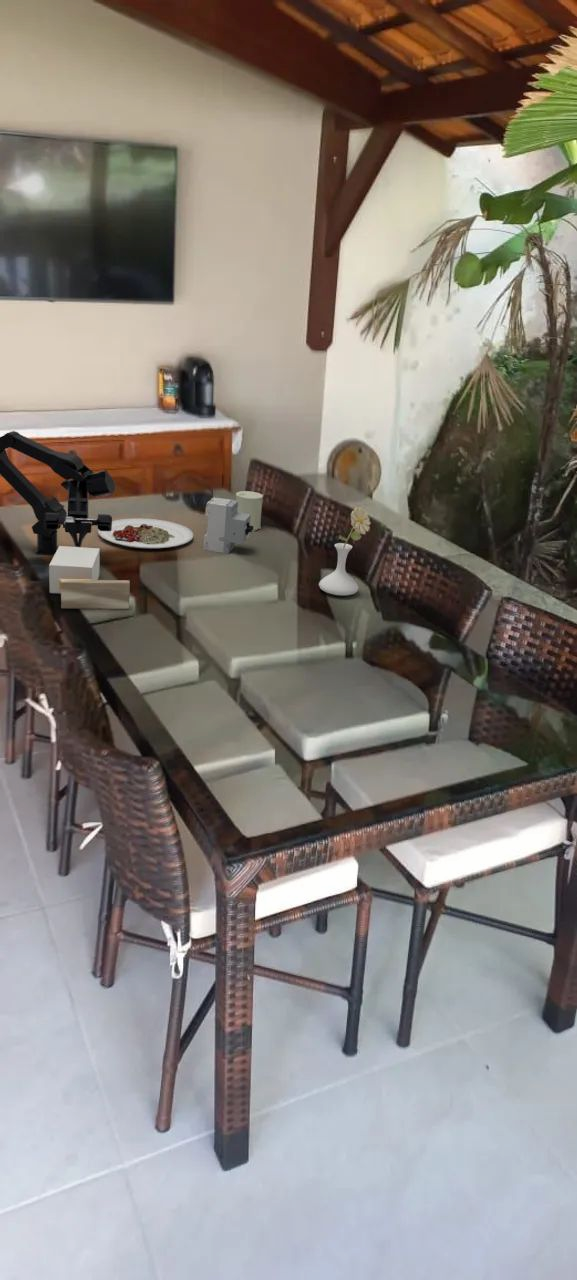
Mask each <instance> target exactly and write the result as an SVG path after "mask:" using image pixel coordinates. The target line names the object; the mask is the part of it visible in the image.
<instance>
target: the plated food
mask: <svg viewBox="0 0 577 1280" xmlns="http://www.w3.org/2000/svg"><path fill="white" fill-rule="evenodd" d="M97 532H98V535H99V536H100V537H101V538H102V539H104V540H106V541H108V542H110V543H113V544H116V545H121V546H123V547H129V548H134V549H150V550H151V549H152V550H153V549H165V548H172V547H173V548H174V547H178V546H182V545H184V544H187V543H189V542H191V541H192V540H193V538H194V533H193V531H192V530H191V529H190V528H188V527H187V526H185V525H183V524H179V523H176V522H172V521H168V520H164V519H154V518H142V517H139V518H135V517H134V518H133V517H131V518H123V519H122V518H121V519H116V520H112V529H111V531H100V530H99V529H98V528H97Z"/></svg>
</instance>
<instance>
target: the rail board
mask: <svg viewBox="0 0 577 1280" xmlns="http://www.w3.org/2000/svg"><path fill="white" fill-rule="evenodd" d="M130 585H131V584H130V580H129V579H128V580H127V579H126V580H123V579H122V580H119V579H117V580H116V579H115V580H113V579H108V580H107V579H98V580H61V594H60V596H61V597H60V598H61V599H60V604H61V605H60V608H61V609H99V608H100V609H102V610H103V609H111V610H113V609H114V610H115V609H116V610H120V609H123V610H124V609H125V610H126V609H130V592H131V591H130V590H131V589H130V588H131V587H130ZM100 609H99V610H100Z"/></svg>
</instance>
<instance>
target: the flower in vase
mask: <svg viewBox="0 0 577 1280" xmlns="http://www.w3.org/2000/svg"><path fill="white" fill-rule="evenodd" d="M368 513H369V512H368ZM368 513H367V512H366V510H365V509H364V508H363V507H362V506H360V507H359V506H356V507H354V508H353V510H352V511H351V513H350V521H351V523H350V524H351V526H352V528H351V529H350V530H351V531H350V532H349V534H348V536H347V538H346V537H343V535H341V534H339V536H338V539H339V540H341V541H345V542H343V543H342V542H338V543H335V544H334V548H335V549H336V552H337V562H336V563H337V565H336V568H335V570H334V571H333V572H331V573H330V574H328V575H325V576H324V577H323V578H322V579H320V581H319V582H318V586H319V588H320V590H322V591H323V592H325V593H327V594H330V595H334V596H351V595H355V594H356V593H357V592H358V591H359V586H358V583H357V582H356V581H355V580H354V579H353V578H352V577H351V576H350V575H349V574H348V573H347V571H346V561H347V557H348V554H349V553H350V551H351V550H352V548H353V545H351V544H349V543H348V541H349V539H350V538H351V539H352V540H353V541H355V542H356V541H359V540H360V539H361V538H362V535H366V532H369V531H370V529H371V528H370V525H371V521H370V519H371V518H369V514H368ZM353 530H354V531H353Z"/></svg>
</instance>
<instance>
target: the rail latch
mask: <svg viewBox="0 0 577 1280" xmlns="http://www.w3.org/2000/svg"><path fill="white" fill-rule="evenodd" d="M61 580H91V579H59V590H61Z"/></svg>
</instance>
